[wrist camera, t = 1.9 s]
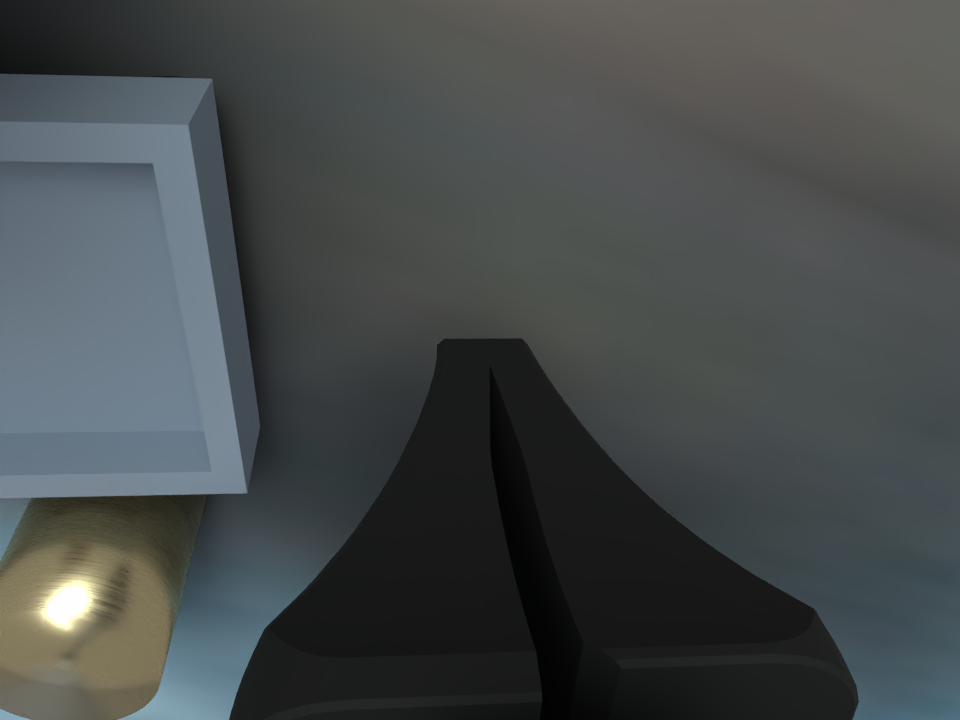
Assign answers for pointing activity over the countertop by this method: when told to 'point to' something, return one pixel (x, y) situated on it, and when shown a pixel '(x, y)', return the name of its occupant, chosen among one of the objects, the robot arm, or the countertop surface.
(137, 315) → the grey square tray
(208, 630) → the countertop surface
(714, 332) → the countertop surface
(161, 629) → the brass cylinder
